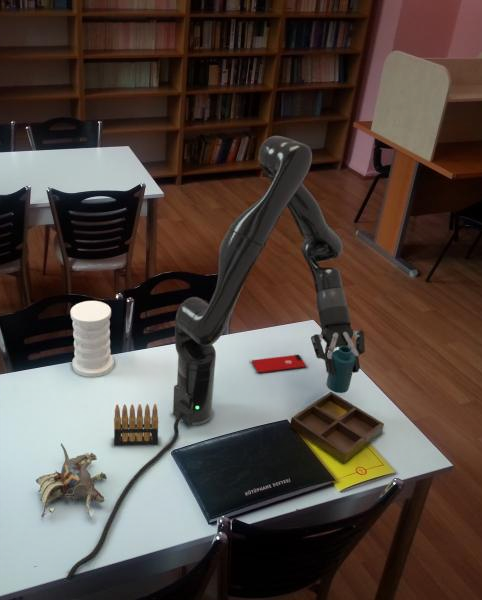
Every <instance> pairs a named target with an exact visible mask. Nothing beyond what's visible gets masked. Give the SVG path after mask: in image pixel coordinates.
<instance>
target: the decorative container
mask: <svg viewBox="0 0 482 600" xmlns="http://www.w3.org/2000/svg"><path fill="white" fill-rule="evenodd" d="M69 311H70V319H71V320H72V323H71V324H72V328H73V332H72V336H73V339H74V340H73V347H74V351H73V354H74V357H73V358H72V370H73V371H74V372H75V373H77V374H78V375H79V376H82V377H87V378H88V377H89V378H95V377H101V376H104V375H106V374H108V373H109V372H110V371H112V370H113V368H114V365H115V364H114V363H115V362H114V357H113V356H112V354H111V337H110V336H111V330H110V325H111V321H110V318H111V316H112V308H111V307H110V306H109V304H107V303H105V302H104V301H103V302H102V301H100V300H99V301H98V300H85V301H82V302H79V303H75V305H73V306H72V307H71V309H70V310H69Z"/></svg>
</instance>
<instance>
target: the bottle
mask: <svg viewBox="0 0 482 600" xmlns="http://www.w3.org/2000/svg"><path fill="white" fill-rule="evenodd" d="M351 351H352V350H351V349H350V348H349V347H347V346H341V347H338V349H335V350H334V351H333V354H332V358H331V359H333V364H334V370H335V374H334V375H329V373H327V377H326V378H327V379H326V387H327V388H328V389H329V390H330V392H333V393H335V394H345V393H347V392H348V391H349V389H350V386H351V381H352V376H353V374H354V373H353V368H354V363H355V359H356V358H355V355H354V354H353V353H351Z"/></svg>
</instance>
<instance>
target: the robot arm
mask: <svg viewBox="0 0 482 600" xmlns="http://www.w3.org/2000/svg"><path fill="white" fill-rule="evenodd" d="M258 163H259V166H260V168H261V170H262V171H263V173H264V174H265V176H266V177H267V178H268V180H269V181H270V184H269V185H268V187H267V189H266V191H265V192H264V194H263V195H262V196H261V197H260V198H259V199H258V200H257V201H256V202H254V203H253V204H252V205H250V206H249V207H248V208H247V209H246V210H244V211H243V212H241V213H240V214H239V215H238V216H237V217H236V218H235V219H234V220H233V221H232V222H231V224H230V226H229V228H228V229H227V232H226V234H225V235H224V236H223V239H222V241H221V244H220V245H219V248H218V256H217V280H216V286H215V288H214V292H213V294H212V296H211V298H210V300H209V302H207V301H206V300H205V299H203V298H201V297H199V296H192V297H189V298H187V299H185V300H184V301H183V302H182V303H181V304H180V305H179V307H178V309H177V311H176V315H175V320H174V342H175V343H174V345H175V350H176V353H177V376H176V384H174V386H173V400H172V401H173V403H172V415H173V416H174V417H175V420H174V423H173V431H174V434H173V437H172V439H171V441H170V442H169V443H168V444H167V445H165V446H164V447H163V448H162V449H161V450H160V451H159V452H158V453H157V454H156V455H155V456H153V458H151V459H150V460H149V461H148V462H146V464H144V465H143V466H142V467H141V468H139V470H138V471H137V472H136V473H135V475H134V476H133V477H132V478H131V479H130V480H129V482H128V483H127V484H126V485H125V487H124V489H123V490H122V492H121V494H120V495H119V497H118V498H117V501H116V503H115V504H114V507H113V509H112V511H111V513H110V514H109V517H108V519H107V521H106V523H105V526H104V527H103V530H102V532H101V535H100V537H99V540H98V542H97V544H96V545H95V546H94V548H93V550H91V552H90V553H89V554H87V555H86V556H85V557H83V558H81V559H79V560H78V561H77V562H75V564H73V566H72V567H71V569H69V572H68V573H67V576H66V580H67V581H70V580H72V579H73V576H74V575H75V573H76V571H77V570H78V569H79V568H80V567H82V566H83V565H84V564H86V563H88V562H89V561H91V560H92V559H94V557H95V556H96V555H97V554H98V553H99V551H100V550H101V548H102V546H103V545H104V542H105V540H106V538H107V535H108V533H109V530H110V528H111V526H112V523H113V521H114V520H115V517H116V515H117V513H118V511H119V508H120V506H121V505H122V502H123V500H124V499H125V497H126V496H127V494H128V492H129V491H130V489H131V488H132V486H133V485H134V484H135V482H137V480H138V479H139V478H140V477H141V475H142V474H143V473H144V472H145V471H147V470H148V468H149V467H151V466H152V465H153V464H154V463H156V462H157V461H158V460H159V459H160V458H161V457H162V456H163V455H164V454H165V453H166V452H167V451H169V449H171V448H172V447H173V446H174V444H175V443H176V441H177V440H178V437H179V433H180V431H179V423H180V422H181V423H183V424H184V425H185V426H187V427H192V426H201V425H203V424H205V423H207V422H209V421H210V419H211V418H212V414H213V410H212V409H213V396H214V384H215V383H214V382H215V371H216V359H217V353H216V349H215V346H214V344H215V343H216V342H217V341H218V340H219V339H220V338H221V336H222V335H223V333H224V331H226V330H225V329H226V328H227V325H228V323H229V321H230V318H231V316H232V313H233V311H234V308H235V306H236V304H237V301H238V299H239V297H240V294H241V292H242V291H243V288H244V287H245V285H246V282H247V280H248V278H249V276H250V274H251V273H252V270H253V269H254V266H255V265H256V264H257V261H258V260H259V258H260V256H261V254H262V252H263V251H264V249H265V247H266V245H267V243H268V240H269V239H270V236H271V235H272V232H273V231H274V229H275V227H276V226H277V224H278V222H279V220H280V218H281V217H282V215H283V213H284V211H285V210H286V208H288V211H289V212H290V214H291V216H292V218H293V220H294V223H295V224H296V227H297V229H298V231H299V233H300V235H301V237H302V238H303V239H304V240H303V241H302V243H301V254H302V255H303V258H304V260H305V262H306V264H307V266H308V268H309V270H310V272H311V276H312V279H313V283H314V289H315V295H316V309H317V312H318V319H319V325H320V329H321V332H320V333H319V334H317V333H316V334H313V335H312V336H311V337H310V340H311V344H312V347H313V350H314V352H315V356H316V358H317V360H323V361H324V365H325V371H326V373H327V374H328V373H329V375H334V374H335V370H334V364H333V359H331V358H332V354H333V352H334V351H335V350H336V349H337V348H339V347H341V346H347V347H349V348H350V349H351V350H352V351H351V353H353V354H354V355H355V358H356V359H355V363H354V368H353V373H352V374H355V373H358V372H359V371H360V369H361V364H360V359H359V357H360V355H363V354H365V352H366V348H365V347H366V345H365V331H364V330H362V329H361V330H353V328H352V326H351V318H350V312H349V306H348V301H347V296H346V294H345V290H344V286H343V280H342V274H341V271H340V270H339V268H337V267H326V266H325V267H323V266H320V263H322V262H327V261H331V260H335V259H338V258H340V256H341V255H342V254H343V251H344V243H343V241H342V239H341V237H340V235H339V234H338V233H337V232H336V231H335V230H334V229H333V228H332V227H331V225H330V224H329V223H328V222H327V220H326V218H325V215H324V213H323V211H322V208H321V206H320V204H319V203H318V201H317V200H316V198H315V197H314V196H313V195H312V193H311V192H310V191H309V190H308V189H307V187H306V186H305V185H304V184H303V182H304V180H305V179H306V177H307V175H308V173H309V171H310V169H311V167H312V163H313V152H312V149H311V148H310V146H308V145H307V144H306V143H303V142H300V141H297V140H294V139H291V138H288V137H285V136H281V135H272V136H270V137H268V138H267V139H265V140H264V141H263V142H262V144H261V146H260V148H259V151H258ZM352 338H353V339H354V340H355V343H354V342H353V340H352ZM322 341H324V342H325V343H326V344H325V348H323V345H322Z"/></svg>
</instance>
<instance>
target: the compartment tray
mask: <svg viewBox="0 0 482 600" xmlns="http://www.w3.org/2000/svg"><path fill="white" fill-rule="evenodd" d="M384 425H385V423H384V422H382V421H381V420H379V419H378V418H375V417H374V416H372V414H369V413H368V412H366V411H364V410H363V409H361V408H359V407H358V406H356V405H354V404H353V403H351V402H350V401H348V400H346V399H344V398H343V397H342V396H339V395H338V394H337V393H335V392H333V391H329V392H328V393H325V394H324V395H323V396H322V397H320V398H319V399H317V400H316V401H314V402H313V403H311V404H309V405H308V406H306V407H305V408H303V409H302V410H301V411H299V412H297V413H296V414H295V415H293V416H291V418H290V423H289V428H290V429H292V430H294V431H295V432H296V433H298V434H299V435H301V436H302V437H304V438H305V439H307V440H308V441H310V442H311V443H312V444H314V445H315V446H317V447H318V448H320V449H321V450H323V451H324V452H325V453H327V454H329V455H330V456H332V457H333V458H334V459H336V460H337V461H339V462H340V463H342V464H345V463H346V462H347V461H349V460H350V459H351V458H353V456H355V455H356V454H357V453H359V452H360V451H361V450H362V449H363V448H365V447H366V446H367V445H369V444H370V443H371V442H372V441H373V440H375V439H376V438H377V437H379V436H380V435H382V433H383V429H384V427H385V426H384Z"/></svg>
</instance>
